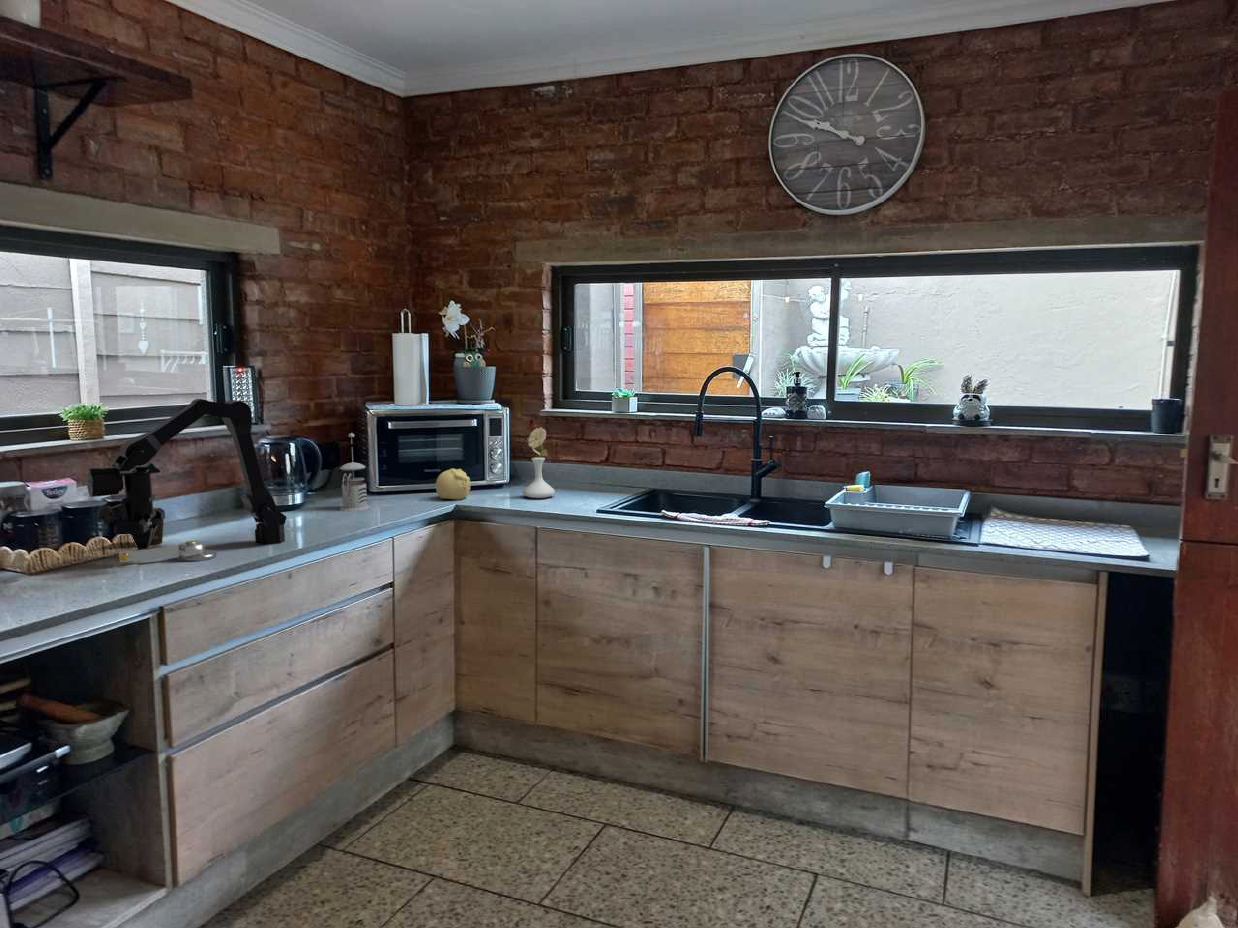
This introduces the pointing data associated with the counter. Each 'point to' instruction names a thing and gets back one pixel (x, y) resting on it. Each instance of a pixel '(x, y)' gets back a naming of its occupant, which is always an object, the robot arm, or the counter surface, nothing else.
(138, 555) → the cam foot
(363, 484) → the french press
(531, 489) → the flower in vase
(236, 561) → the counter surface
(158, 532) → the coffee mug
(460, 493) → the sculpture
